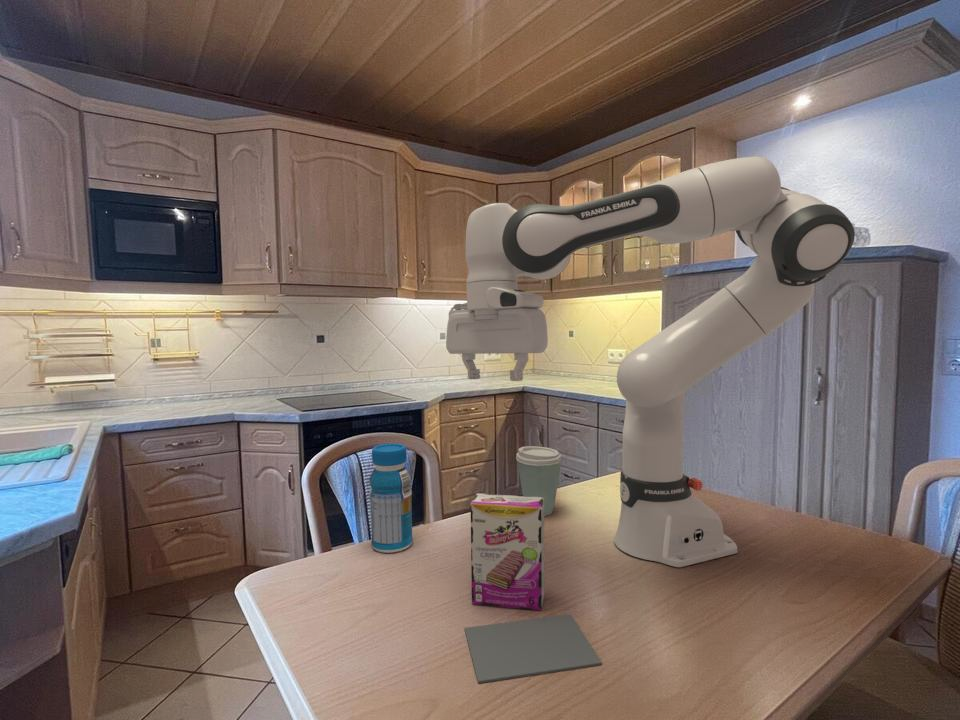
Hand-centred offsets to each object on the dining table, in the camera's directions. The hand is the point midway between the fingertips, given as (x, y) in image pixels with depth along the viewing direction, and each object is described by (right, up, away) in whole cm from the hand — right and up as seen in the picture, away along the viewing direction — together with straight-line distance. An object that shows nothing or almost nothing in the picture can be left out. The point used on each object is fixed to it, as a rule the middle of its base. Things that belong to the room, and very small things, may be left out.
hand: (494, 379), depth 86 cm
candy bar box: (+2, -35, -8) cm, 36 cm away
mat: (+4, -35, -19) cm, 40 cm away
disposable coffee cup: (+11, -32, +29) cm, 45 cm away
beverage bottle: (-20, -34, +13) cm, 42 cm away
